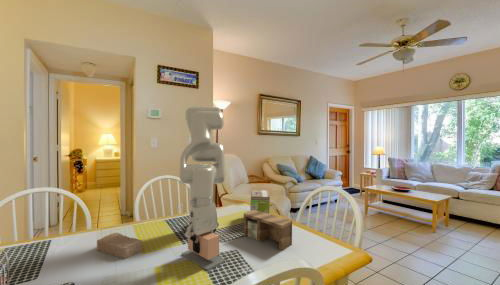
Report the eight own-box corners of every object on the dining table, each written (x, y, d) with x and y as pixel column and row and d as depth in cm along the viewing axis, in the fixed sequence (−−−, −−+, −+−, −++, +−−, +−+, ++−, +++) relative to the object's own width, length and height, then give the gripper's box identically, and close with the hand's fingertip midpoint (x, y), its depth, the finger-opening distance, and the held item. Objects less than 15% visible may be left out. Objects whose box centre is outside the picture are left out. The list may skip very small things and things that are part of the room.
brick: (143, 250, 95) (143, 238, 94) (125, 260, 87) (124, 247, 87) (115, 242, 101) (115, 231, 101) (95, 251, 94) (95, 239, 94)
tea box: (269, 225, 121) (270, 196, 120) (250, 225, 121) (250, 196, 120) (268, 215, 136) (268, 189, 135) (250, 215, 136) (250, 189, 135)
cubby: (243, 235, 108) (243, 213, 108) (254, 230, 113) (254, 209, 113) (282, 250, 94) (282, 225, 94) (291, 244, 99) (292, 220, 99)
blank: (208, 259, 82) (208, 239, 82) (188, 249, 90) (187, 230, 90) (219, 254, 86) (219, 235, 86) (198, 244, 94) (198, 226, 93)
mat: (181, 254, 91) (181, 253, 91) (198, 247, 96) (198, 246, 96) (207, 271, 80) (207, 269, 80) (225, 261, 86) (225, 260, 86)
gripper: (188, 207, 79) (188, 262, 79) (226, 198, 91) (226, 244, 92) (176, 203, 84) (176, 254, 84) (214, 194, 96) (214, 239, 97)
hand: (202, 248), depth 88 cm, fingers closed on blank, 5 cm apart
